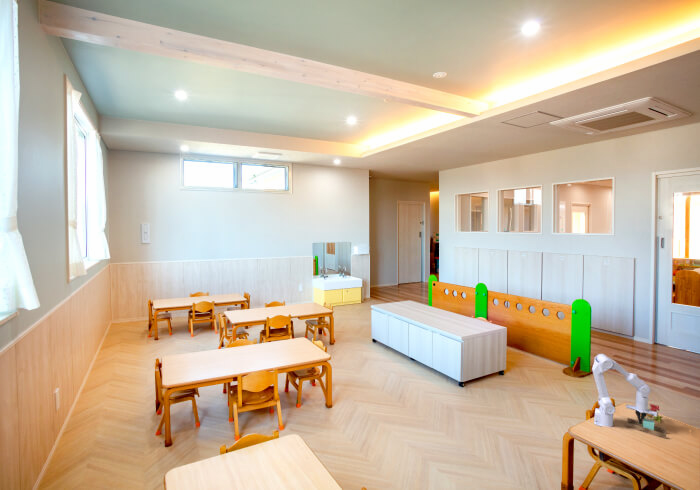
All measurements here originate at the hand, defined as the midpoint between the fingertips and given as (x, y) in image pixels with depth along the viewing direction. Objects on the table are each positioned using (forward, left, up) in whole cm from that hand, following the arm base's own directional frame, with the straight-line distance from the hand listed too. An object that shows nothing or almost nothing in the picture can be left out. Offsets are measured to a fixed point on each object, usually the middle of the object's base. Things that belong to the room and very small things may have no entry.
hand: (640, 423), depth 221 cm
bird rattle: (+6, +18, -4) cm, 19 cm away
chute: (+3, 0, -4) cm, 5 cm away
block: (+4, 0, -3) cm, 5 cm away
